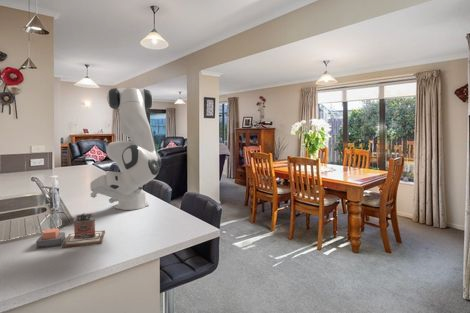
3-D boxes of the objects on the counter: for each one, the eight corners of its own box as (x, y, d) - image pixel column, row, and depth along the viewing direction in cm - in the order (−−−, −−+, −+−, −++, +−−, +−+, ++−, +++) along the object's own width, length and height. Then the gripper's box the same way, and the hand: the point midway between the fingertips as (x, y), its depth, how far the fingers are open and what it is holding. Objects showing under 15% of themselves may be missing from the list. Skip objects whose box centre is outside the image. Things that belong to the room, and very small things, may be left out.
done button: (46, 236, 114) (45, 229, 114) (58, 235, 116) (58, 228, 115) (43, 240, 110) (42, 233, 110) (55, 239, 112) (55, 231, 111)
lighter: (73, 239, 115) (71, 215, 114) (75, 236, 118) (74, 213, 117) (94, 237, 117) (93, 214, 116) (96, 234, 120) (95, 211, 119)
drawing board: (69, 236, 121) (69, 233, 121) (104, 232, 125) (104, 229, 125) (61, 248, 109) (61, 245, 108) (101, 243, 113) (101, 241, 113)
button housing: (42, 241, 116) (42, 234, 115) (65, 238, 118) (64, 231, 118) (36, 249, 108) (35, 241, 108) (60, 246, 111) (59, 238, 110)
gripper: (142, 184, 128) (119, 198, 132) (105, 169, 112) (80, 185, 115) (143, 196, 125) (120, 210, 128) (106, 182, 108) (80, 199, 112)
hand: (101, 198), depth 121 cm, fingers open, 8 cm apart
